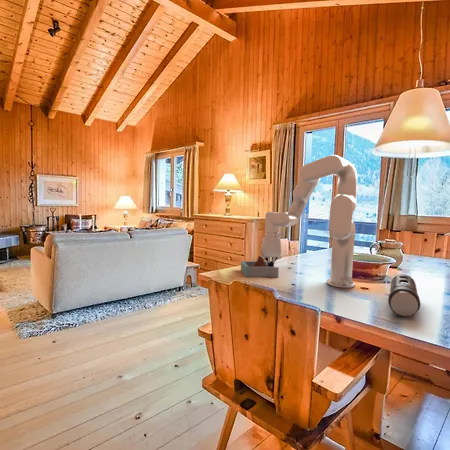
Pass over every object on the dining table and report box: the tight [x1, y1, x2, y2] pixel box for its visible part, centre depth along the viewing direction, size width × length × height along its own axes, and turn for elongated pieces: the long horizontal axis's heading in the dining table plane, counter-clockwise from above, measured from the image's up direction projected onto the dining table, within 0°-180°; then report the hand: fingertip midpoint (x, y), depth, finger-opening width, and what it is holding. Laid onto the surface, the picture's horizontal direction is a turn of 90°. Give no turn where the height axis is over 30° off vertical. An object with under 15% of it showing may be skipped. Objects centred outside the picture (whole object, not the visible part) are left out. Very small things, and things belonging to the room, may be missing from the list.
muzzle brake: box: [387, 273, 421, 317], centre depth 118 cm, size 10×28×10 cm, turn 151°
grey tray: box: [240, 260, 280, 278], centre depth 166 cm, size 18×17×5 cm
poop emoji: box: [253, 255, 268, 267], centre depth 165 cm, size 10×8×9 cm
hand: (270, 269), depth 167 cm, fingers closed
